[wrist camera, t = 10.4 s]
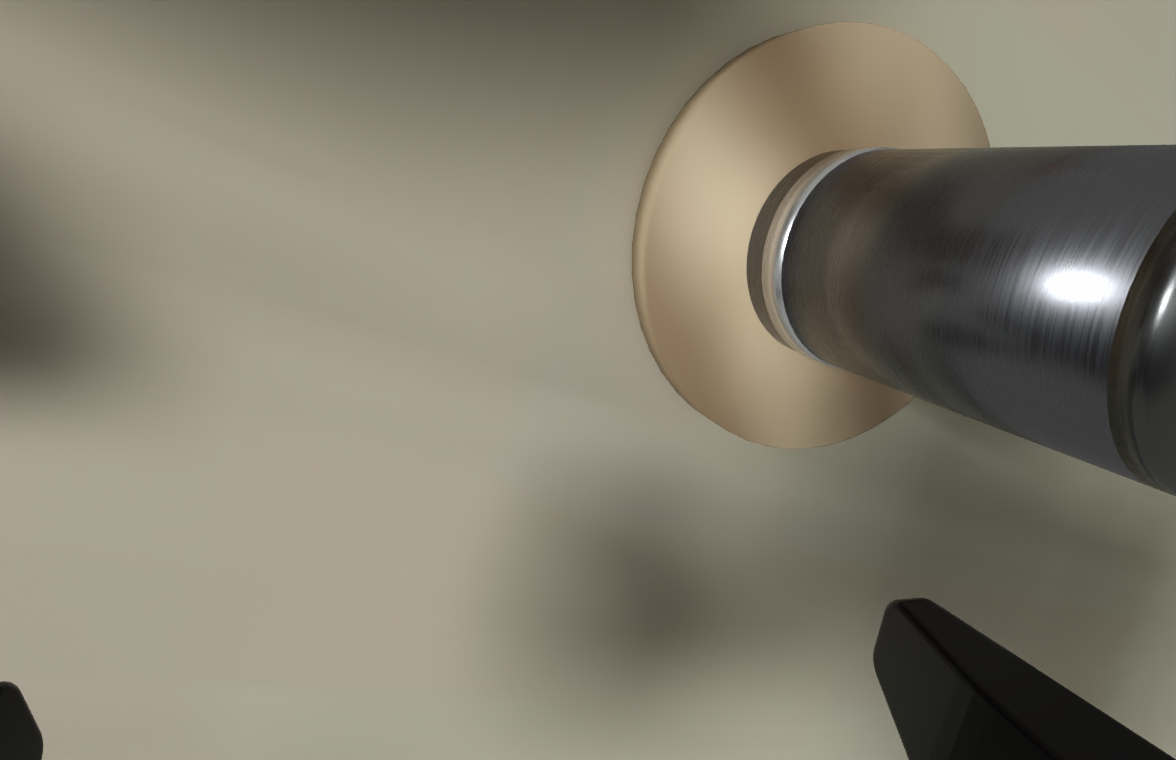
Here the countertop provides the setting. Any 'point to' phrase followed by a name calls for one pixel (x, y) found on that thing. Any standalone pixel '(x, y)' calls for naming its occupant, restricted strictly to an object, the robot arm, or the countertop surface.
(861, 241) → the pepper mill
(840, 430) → the smooth tan round disc
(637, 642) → the countertop surface
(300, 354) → the countertop surface
